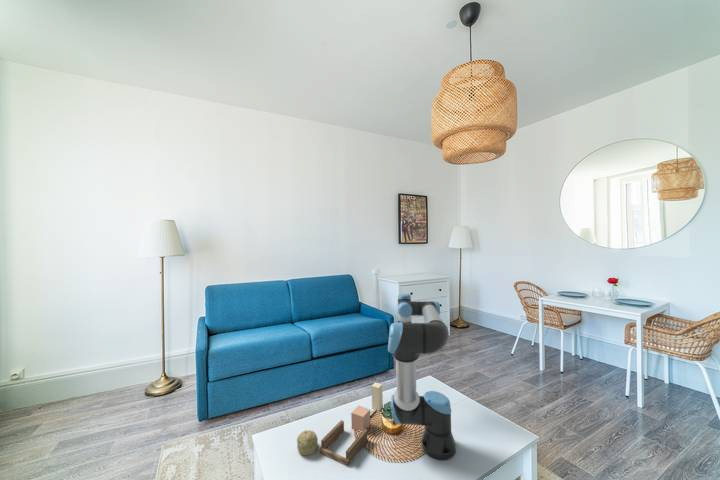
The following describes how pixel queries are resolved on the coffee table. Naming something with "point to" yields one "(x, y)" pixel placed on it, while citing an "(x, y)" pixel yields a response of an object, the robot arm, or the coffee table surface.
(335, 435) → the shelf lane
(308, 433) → the decorative object
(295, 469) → the coffee table surface
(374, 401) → the pair of rectangular blocks
